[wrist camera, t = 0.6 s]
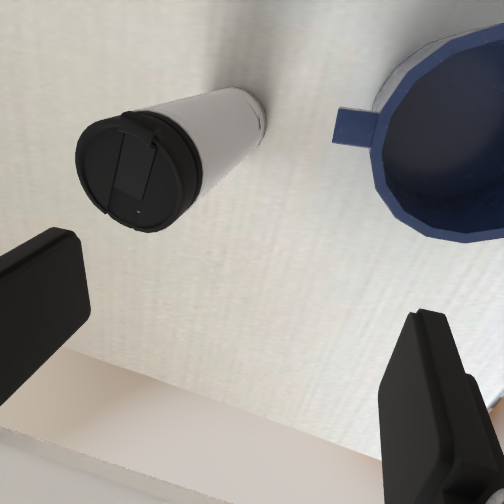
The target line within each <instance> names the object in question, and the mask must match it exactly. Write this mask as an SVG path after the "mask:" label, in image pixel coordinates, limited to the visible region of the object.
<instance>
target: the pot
mask: <svg viewBox="0 0 504 504" xmlns="http://www.w3.org/2000/svg"><path fill="white" fill-rule="evenodd" d="M332 143H336V144H343V145H350V146H357V147H364V148H369V153H370V159H371V165H372V171H373V177H374V183H375V188H376V191H377V192H378V194H379V195H380V196H381V198H382V199H383V201H384V202H385V204H386V205H387V207H388V208H389V210H390V211H391V212H392V214H393V215H394V217H395V218H396V219H398V220H400V221H401V222H403V223H405V224H406V225H408V226H409V227H411V228H413V229H414V230H416V231H418V232H419V233H421V234H423V235H424V236H426V237H432V238H437V239H443V240H448V241H454V242H459V243H471V242H478V241H485V240H492V239H499V238H504V23H502V24H497V25H493V26H488V27H483V28H479V29H474V30H470V31H466V32H462V33H459V34H456V35H453V36H450V37H446V38H443V39H440V40H437V41H434V42H431V43H428V44H426V45H425V46H424V47H423V48H421V49H420V50H419V51H417V52H416V53H414V54H413V55H411V56H410V57H409V58H408V59H406V60H405V61H404V62H403V63H402V64H400V65H399V66H398V67H396V69H394V71H393V72H392V74H391V75H390V77H389V78H388V80H387V81H386V82H385V84H384V85H383V87H382V89H381V90H380V92H379V94H378V95H377V97H376V98H375V100H374V103H373V108H372V111H370V110H362V109H355V108H347V107H339V109H338V114H337V119H336V124H335V129H334V134H333V139H332Z"/></svg>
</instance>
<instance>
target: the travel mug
mask: <svg viewBox="0 0 504 504" xmlns="http://www.w3.org/2000/svg"><path fill="white" fill-rule="evenodd" d="M265 129H266V117H265V113H264V110H263V108H262V105H261V104H260V102H259V101H258V99H257V98H256V97H255V96H254V95H253V94H251V93H250V92H248V91H246V90H244V89H242V88H237V87H228V88H224V89H220V90H216V91H212V92H208V93H204V94H200V95H196V96H191V97H187V98H183V99H179V100H175V101H171V102H167V103H163V104H159V105H155V106H151V107H147V108H143V109H138V110H135V111H127V112H123V113H122V114H121V115H119V116H115V117H112V118H107V119H104V120H100V121H97V122H95V123H93V124H91V125H90V126H88V127H87V128H86V129H85V130H84V132H83V133H82V134H81V136H80V138H79V140H78V142H77V147H76V152H75V164H76V169H77V174H78V177H79V180H80V182H81V185H82V187H83V189H84V191H85V192H86V194H87V196H88V197H89V199H90V200H91V201H92V203H93V204H94V205H95V206H96V207H97V208H98V209H99V210H101V211H102V212H103V213H104V214H107V213H108V214H109V216H110V217H111V218H112V219H114V220H115V221H117V222H119V223H120V224H122V225H124V226H127V227H129V228H134V230H136V231H141V232H145V233H152V232H158V231H160V230H163V229H165V228H167V227H168V226H170V225H171V224H172V223H173V222H174V221H176V220H177V219H178V218H179V217H180V216H181V215H182V214H183V213H184V212H186V211H187V210H189V209H190V208H191V207H192V206H193V205H194V204H196V203H197V202H198V201H199V200H200V199H201V198H202V197H203V196H204V195H205V194H206V193H208V192H209V191H210V190H211V189H212V188H213V187H214V186H215V185H216V184H217V183H218V182H220V181H221V180H222V179H223V178H224V177H225V176H226V175H227V174H228V173H229V172H230V171H231V170H233V169H234V168H235V167H236V166H237V165H238V164H239V163H240V162H241V161H242V160H243V159H245V158H246V157H247V156H248V155H249V154H250V153H251V152H252V151H253V150H254V149H255V148H256V147H257V146H258V145H259V144H260V142H261V141H262V139H263V137H264V134H265Z"/></svg>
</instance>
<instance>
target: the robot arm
mask: <svg viewBox="0 0 504 504" xmlns="http://www.w3.org/2000/svg"><path fill="white" fill-rule="evenodd" d="M90 312H91V307H90V300H89V294H88V287H87V280H86V273H85V267H84V260H83V253H82V247H81V241H80V239H79V238H78V237H77V236H76V234H75V232H73V231H70V230H66V229H61V228H57V227H52V228H49V229H48V230H46V231H44V232H42V233H41V234H39V235H37V236H35V237H34V238H32V239H30V240H28V241H26V242H25V243H23V244H21V245H19V246H18V247H16V248H14V249H12V250H11V251H9V252H7V253H5V254H4V255H2V256H0V406H1V405H2V404H3V403H4V402H5V401H6V400H7V399H8V398H9V397H10V396H11V395H12V394H13V393H14V392H15V391H16V390H17V389H18V388H19V387H20V386H21V385H22V384H23V383H24V382H25V381H26V380H27V379H29V377H31V375H33V374H34V372H36V371H37V369H39V367H40V366H41V365H43V364H44V363H45V362H46V361H47V360H48V359H49V358H50V357H51V356H52V355H53V354H54V353H55V352H56V350H58V349H59V348H60V347H61V346H62V345H63V344H64V343H65V342H66V341H67V340H68V339H69V338H70V337H71V336H72V335H73V334H74V333H75V332H76V331H77V330H78V329H79V328H80V327H81V326H82V325H83V324H84V323H85V322H86V321H87V320H88V318H89V316H90ZM378 408H379V423H380V439H381V454H382V470H383V485H384V501H385V504H504V455H503V452H502V449H501V447H500V444H499V441H498V438H497V436H496V433H495V431H494V428H493V425H492V422H491V419H490V417H489V414H488V411H487V409H486V406H485V403H484V400H483V398H482V395H481V392H480V390H479V387H478V384H477V382H476V380H475V378H474V377H473V376H472V375H470V374H466V373H465V370H464V368H463V365H462V362H461V359H460V356H459V353H458V350H457V347H456V344H455V341H454V338H453V335H452V333H451V330H450V327H449V324H448V321H447V318H446V316H445V314H443V313H438V312H434V311H429V310H425V309H419V310H418V311H417V313H412V312H410V313H409V314H408V316H407V318H406V321H405V323H404V326H403V328H402V331H401V333H400V336H399V338H398V341H397V343H396V346H395V348H394V351H393V353H392V356H391V358H390V361H389V363H388V366H387V368H386V371H385V373H384V376H383V378H382V381H381V383H380V386H379V391H378ZM0 504H231V503H228V502H225V501H222V500H219V499H216V498H213V497H210V496H207V495H204V494H201V493H198V492H195V491H192V490H190V489H187V488H184V487H181V486H177V485H175V484H172V483H169V482H166V481H163V480H160V479H157V478H154V477H151V476H148V475H145V474H142V473H139V472H136V471H133V470H130V469H127V468H124V467H121V466H118V465H115V464H112V463H109V462H106V461H103V460H100V459H97V458H94V457H91V456H88V455H85V454H82V453H79V452H76V451H73V450H70V449H67V448H64V447H61V446H58V445H55V444H52V443H49V442H46V441H43V440H40V439H37V438H34V437H30V436H28V435H25V434H21V433H18V432H16V431H12V430H9V429H6V428H3V427H0Z"/></svg>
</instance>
